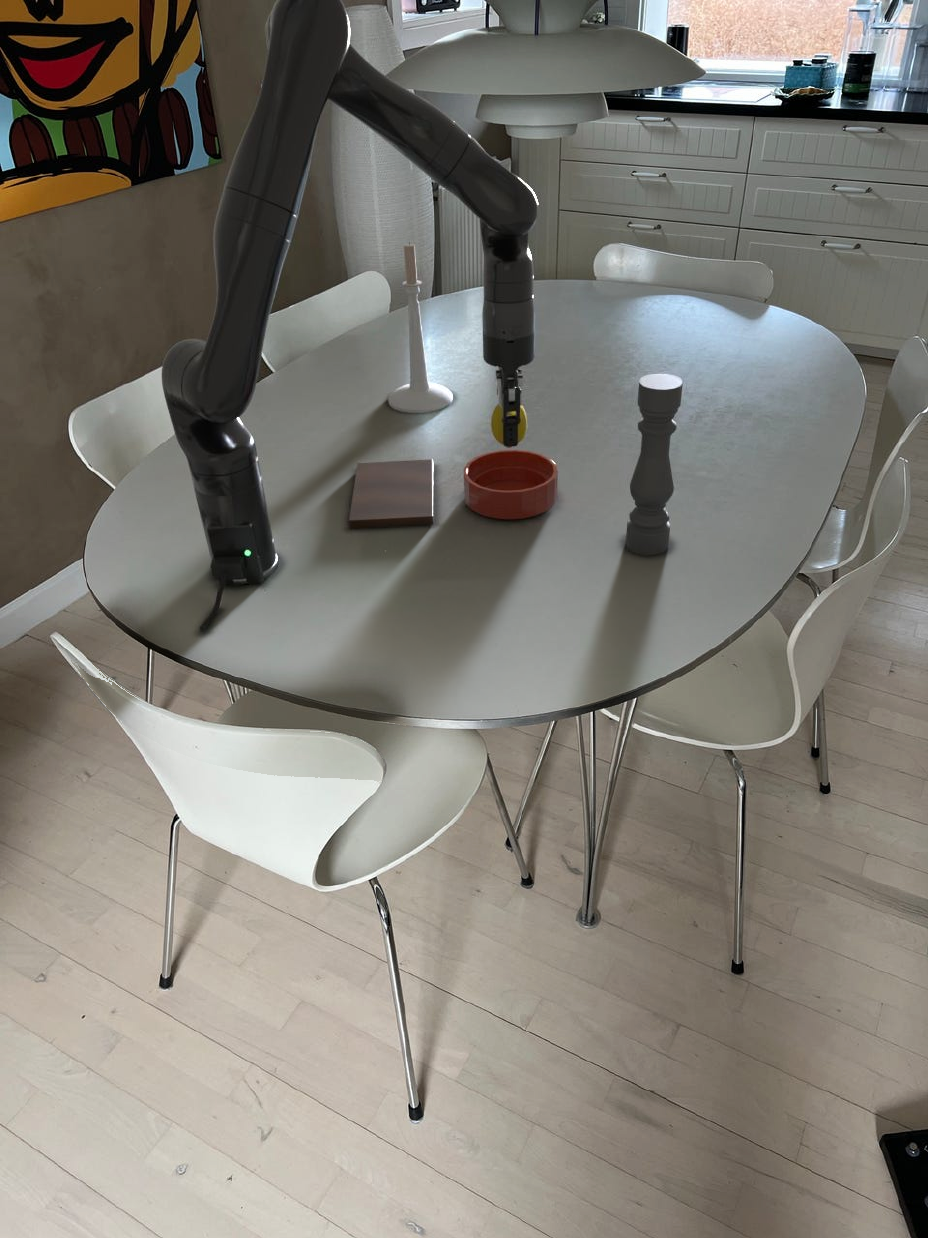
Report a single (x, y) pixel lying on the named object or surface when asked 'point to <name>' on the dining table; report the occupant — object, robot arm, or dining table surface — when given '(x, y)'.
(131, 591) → the dining table surface
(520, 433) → the lemon
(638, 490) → the candle holder
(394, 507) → the board
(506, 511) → the bowl
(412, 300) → the candlestick
